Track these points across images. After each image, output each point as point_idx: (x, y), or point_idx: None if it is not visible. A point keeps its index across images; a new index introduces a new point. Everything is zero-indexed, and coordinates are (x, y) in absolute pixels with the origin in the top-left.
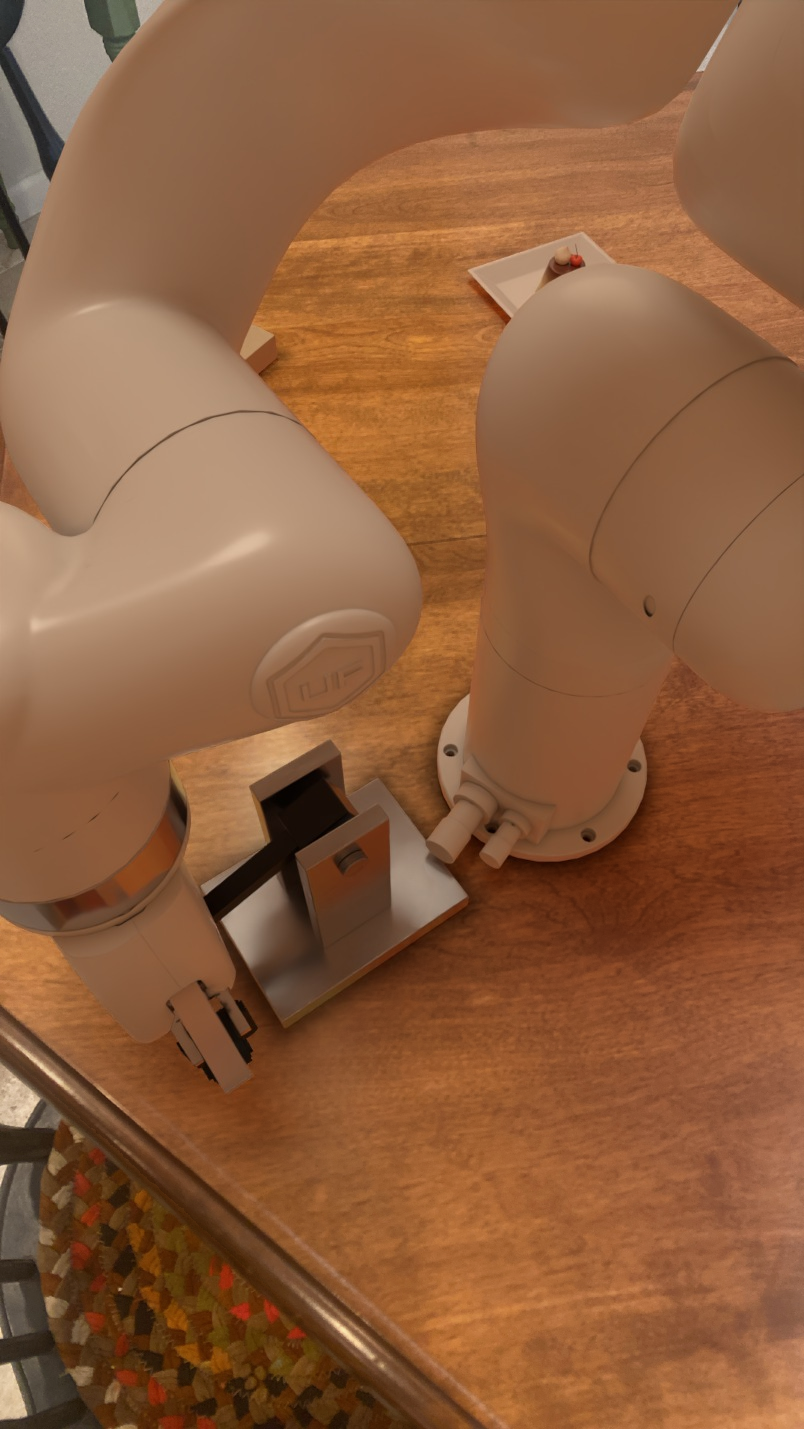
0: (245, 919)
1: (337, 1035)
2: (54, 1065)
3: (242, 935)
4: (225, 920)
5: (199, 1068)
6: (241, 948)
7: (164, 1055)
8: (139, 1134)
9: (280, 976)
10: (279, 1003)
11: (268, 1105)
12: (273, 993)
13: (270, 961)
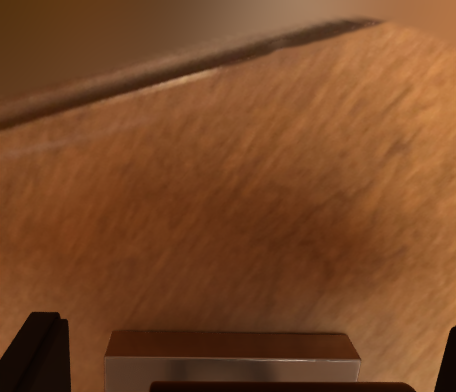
0: None
1: None
2: (284, 30)
3: (254, 372)
4: (290, 365)
5: (33, 312)
6: (238, 363)
7: (185, 180)
8: (101, 89)
9: None
10: (131, 367)
11: (30, 262)
12: (150, 367)
13: None
